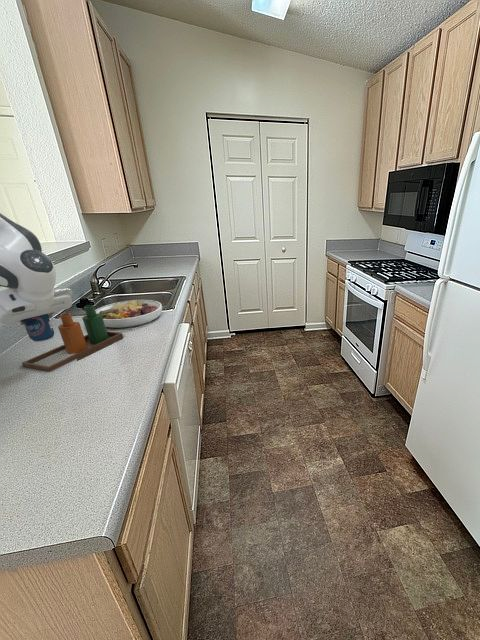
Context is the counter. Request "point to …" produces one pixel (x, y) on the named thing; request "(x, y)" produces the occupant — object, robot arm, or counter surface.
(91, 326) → the green bottle
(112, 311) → the bowl
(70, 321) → the amber bottle
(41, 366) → the tray
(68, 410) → the counter surface
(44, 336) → the soda can
